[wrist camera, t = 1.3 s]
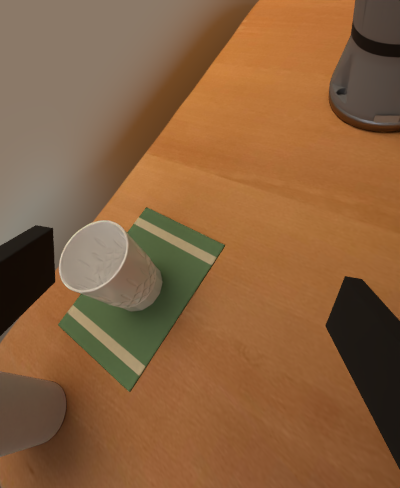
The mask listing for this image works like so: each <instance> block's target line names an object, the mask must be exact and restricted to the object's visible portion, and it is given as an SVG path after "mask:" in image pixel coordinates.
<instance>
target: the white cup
mask: <svg viewBox="0 0 400 488" xmlns="http://www.w3.org/2000/svg"><path fill="white" fill-rule="evenodd" d="M59 274H60V277H61V280H62V282H63V283H64V285H65V286H66V287H67V288H69V289H70V290H72V291H75V292H77V293H80V294H83V295H85V296H88V297H90V298H93V299H96V300H98V301H101V302H103V303H106V304H109V305H112V306H115V307H120V308H123V309H126V310H128V311H131V312H132V311H140V310H143V309H145V308H147V307H148V306H150V305H151V304H153V303H154V301H155V300H156V298H157V297H158V296H159V294H160V291H161V287H162V283H163V281H162V276H161V271H160V270H159V269H158V268H157V267H156V266H155V264H154V263H153V262H152V261H151V259H150V258H149V256H148V255H147V254H146V253H145V252H144V251H143V249H142V248H141V247H140V246H139V245H138V244H137V243H136V242H135V241H134V240H133V239H132V238H131V237H130V235H129V234H128V233H127V232H126V231H125V230H124V229H123V228H122V227H121V226H120V225H119V224H117V223H115V222H112V221H107V220H102V221H96V222H93V223H90V224H88V225H86V226H84V227H83V228H81V229H80V230H79V231H77V233H75V234H74V235H73V236H72V238H71V239H70V240H69V241H68V243H67V244H66V246H65V248H64V249H63V252H62V254H61V257H60V263H59Z"/></svg>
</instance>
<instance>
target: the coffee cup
mask: <svg viewBox="0 0 400 488" xmlns="http://www.w3.org/2000/svg"><path fill="white" fill-rule="evenodd" d="M65 412H66V397H65V393H64V391H63V389H62V388H61V386H60V385H59V384H57V383H55V382H53V381H48V380H42V379H37V378H32V377H27V376H21V375H16V374H11V373H6V372H1V371H0V457H2V456H5V455H8V454H11V453H15V452H18V451H21V450H24V449H27V448H30V447H34V446H37V445H40V444H43V443H45V442H47V441H48V440H50V439H51V438H52V437H53V436H54V435H55V434H56V433H57V431H58V430H59V428H60V426H61V424H62V422H63V420H64V416H65Z"/></svg>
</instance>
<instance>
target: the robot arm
mask: <svg viewBox="0 0 400 488" xmlns="http://www.w3.org/2000/svg"><path fill="white" fill-rule="evenodd" d="M329 103H330V106H331V108H332V110H333V111H334V113H335V114H336V115H337V116H338V117H339V118H340V119H342V120H343V121H345V122H346V123H348V124H350V125H352V126H355V127H358V128H361V129H365V130H370V131H378V132H394V131H400V0H355V8H354V15H353V23H352V31H351V36H350V38H349V40H348V42H347V45H346V47H345V49H344V51H343V53H342V55H341V58H340V60H339V62H338V64H337V66H336V68H335V70H334V73H333V75H332V78H331V81H330V88H329ZM54 283H55V264H54V242H53V228H49V227H42V226H34V227H32V228H31V229H29V230H27V231H25V232H23V233H22V234H20V235H18V236H17V237H15V238H13V239H11V240H10V241H8V242H6V243H4V244H2V245H1V246H0V336H1V335H2V334H3V333H4V331H6V330H7V329H8V328H9V327H10V326H11V325H12V324H13V323H14V322H15V321H16V320H17V319H18V318H19V317H20V316H21V315H22V314H23V313H24V312H25V311H26V310H27V309H28V308H29V307H30V306H31V305H32V304H33V303H34V302H35V301H36V300H37V299H38V298H39V297H40V296H41V295H42V294H43V293H44V292H45V291H46V290H47V289H48V288H49V287H50V286H51V285H53V284H54ZM326 328H327V330H328V332H329V334H330V336H331V338H332V340H333V342H334V344H335V346H336V347H337V349H338V351H339V353H340V355H341V357H342V359H343V361H344V363H345V365H346V367H347V369H348V371H349V373H350V375H351V376H352V378H353V380H354V382H355V384H356V386H357V388H358V390H359V392H360V394H361V396H362V398H363V400H364V402H365V404H366V405H367V407H368V409H369V411H370V413H371V415H372V417H373V419H374V421H375V423H376V425H377V427H378V429H379V431H380V433H381V435H382V436H383V438H384V440H385V442H386V444H387V446H388V448H389V450H390V452H391V454H392V456H393V458H394V460H395V462H396V464H397V465H398V467H399V469H400V321H399V320H398V319H397V317H396V316H395V315H394V314H393V313H392V312H391V311H390V310H389V309H388V307H387V306H386V305H385V304H384V303H383V302H382V301H381V300H380V299H379V297H378V296H377V295H376V294H375V293H374V292H373V291H372V290H371V289H370V287H369V286H368V285H367V284H366V283H365V282H364V281H363V280H362V279H358V278H352V277H346V276H345V278H344V280H343V283H342V285H341V288H340V290H339V293H338V296H337V298H336V301H335V303H334V306H333V308H332V311H331V313H330V316H329V318H328V321H327V323H326Z"/></svg>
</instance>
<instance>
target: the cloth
mask: <svg viewBox="0 0 400 488" xmlns="http://www.w3.org/2000/svg"><path fill="white" fill-rule="evenodd" d="M127 233H128V234H129V235H130V237H131V238H132V239H133V240H134V241H135V242H136V243H137V244H138V245H139V246H140V247H141V248H142V249H143V251H144V252H145V253H146V254H147V255H148V256H149V258H150V259H151V261H152V262H153V263H154V264H155V266H156V267H157V268H158V269H159V270H160V271H161V276H162V281H163V283H162V287H161V291H160V294H159V296H158V297H157V298H156V300H155V301H154V303H153V304H151V305H150V306H148V307H147V308H145V309H143V310H140V311H132V312H131V311H128V310H126V309H123V308H120V307H115V306H112V305H109V304H106V303H103V302H101V301H98V300H96V299H93V298H90V297H88V296H85V295H83V294H81V295H80V296H79V297H78V299H77V300H76V301H75V303H74V304H73V305H72V307H71V308H70V309H69V311H68V312H67V313H66V315H65V316H64V317H63V319H62V320H61V321H60V323H59V324H58V325H59V326H60V327H61V328H62V329H63V330H64V331H65V332H66V333H67V334H68V335H69V336H70V337H71V338H72V339H74V340H75V341H76V342H77V343H78V344H79V345H80V346H81V347H82V348H83V349H84V350H85V351H86V352H87V353H88V354H89V355H91V356H92V357H93V358H94V359H95V360H96V361H97V362H98V363H99V364H100V365H101V366H102V367H103V368H104V369H105V370H107V371H108V372H109V373H110V374H111V375H112V376H113V377H114V378H115V379H116V380H117V381H118V382H119V383H120V384H121V385H122V386H124V387H125V388H126V389H127V390H128V391H129V392H130V391H131V390H132V388H133V387H134V385H135V383H136V382H137V380H138V379H139V377H140V376H141V374H142V373H143V371H144V370H145V368H146V367H147V365H148V363H149V362H150V360H151V359H152V357H153V356H154V354H155V353H156V351H157V350H158V348H159V347H160V345H161V343H162V342H163V340H164V339H165V337H166V336H167V334H168V333H169V331H170V330H171V328H172V327H173V325H174V323H175V322H176V320H177V319H178V317H179V316H180V314H181V313H182V311H183V310H184V308H185V307H186V305H187V303H188V302H189V300H190V299H191V297H192V296H193V294H194V293H195V291H196V290H197V288H198V287H199V285H200V283H201V282H202V280H203V279H204V277H205V276H206V274H207V273H208V271H209V270H210V268H211V267H212V265H213V264H214V262H215V260H216V259H217V257H218V256H219V254H220V253H221V251H222V250H223V248H224V247H225V245H223V244H221V243H219V242H217V241H215V240H213V239H211V238H209V237H207V236H205V235H203V234H201V233H199V232H197V231H195V230H192V229H190V228H188V227H186V226H184V225H182V224H180V223H178V222H176V221H174V220H172V219H170V218H168V217H166V216H164V215H161V214H159V213H157V212H155V211H153V210H151V209H149V208H147V207H146V208H145V210H144V211H143V212H142V214H141V215H140V216H139V218H138V219H137V220H136V222H135V223H134V224H133V226H132V227H131V228H130V230H129V231H128V232H127Z"/></svg>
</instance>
